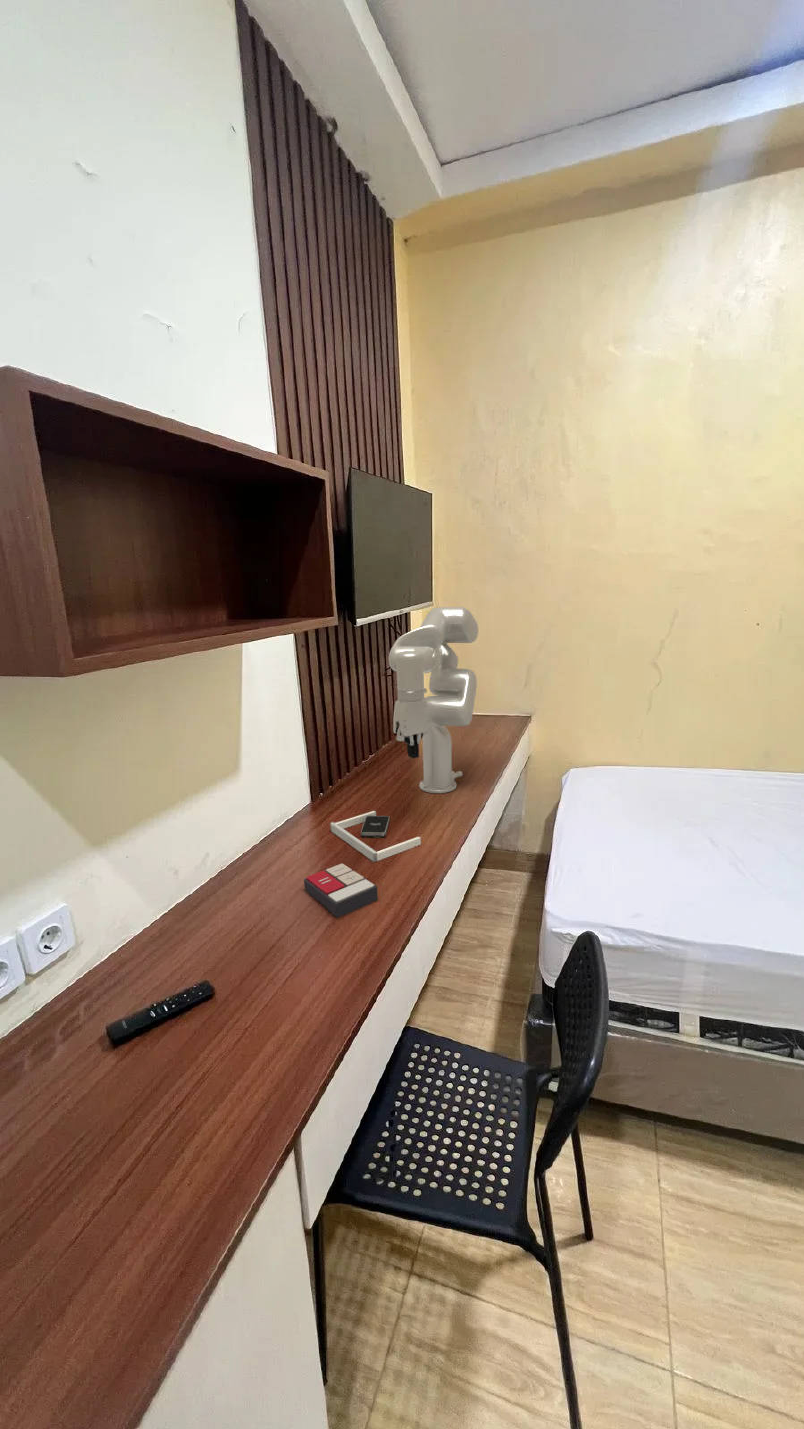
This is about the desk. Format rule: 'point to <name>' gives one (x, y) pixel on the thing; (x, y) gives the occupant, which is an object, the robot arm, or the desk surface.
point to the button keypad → (341, 890)
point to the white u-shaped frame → (363, 848)
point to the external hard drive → (375, 826)
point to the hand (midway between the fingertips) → (413, 756)
